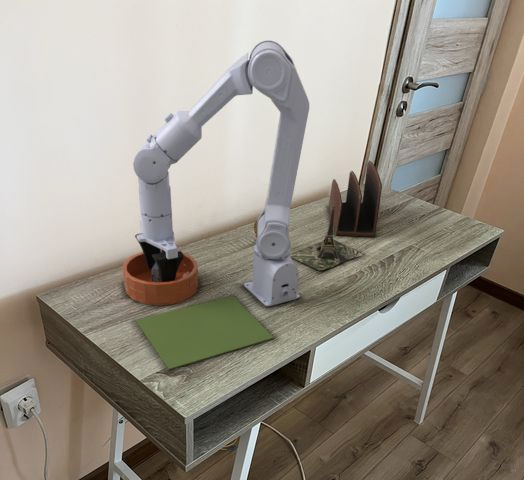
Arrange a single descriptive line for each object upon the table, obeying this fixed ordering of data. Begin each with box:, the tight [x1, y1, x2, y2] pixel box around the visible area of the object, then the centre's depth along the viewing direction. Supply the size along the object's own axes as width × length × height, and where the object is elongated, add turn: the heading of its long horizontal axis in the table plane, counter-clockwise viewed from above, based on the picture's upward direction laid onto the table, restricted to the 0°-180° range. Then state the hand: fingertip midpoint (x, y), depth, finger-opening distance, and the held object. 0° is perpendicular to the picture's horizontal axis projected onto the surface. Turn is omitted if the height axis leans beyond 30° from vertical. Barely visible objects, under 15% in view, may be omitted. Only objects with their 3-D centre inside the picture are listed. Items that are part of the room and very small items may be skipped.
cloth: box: [135, 295, 275, 371], centre depth 96 cm, size 16×20×1 cm
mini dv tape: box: [151, 251, 162, 283], centre depth 106 cm, size 8×2×6 cm, turn 175°
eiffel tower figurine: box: [290, 201, 364, 271], centre depth 118 cm, size 15×10×13 cm
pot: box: [122, 249, 199, 306], centre depth 106 cm, size 15×15×5 cm
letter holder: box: [328, 160, 383, 238], centre depth 135 cm, size 10×20×14 cm, turn 179°
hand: (160, 276), depth 106 cm, fingers closed on mini dv tape, 7 cm apart
